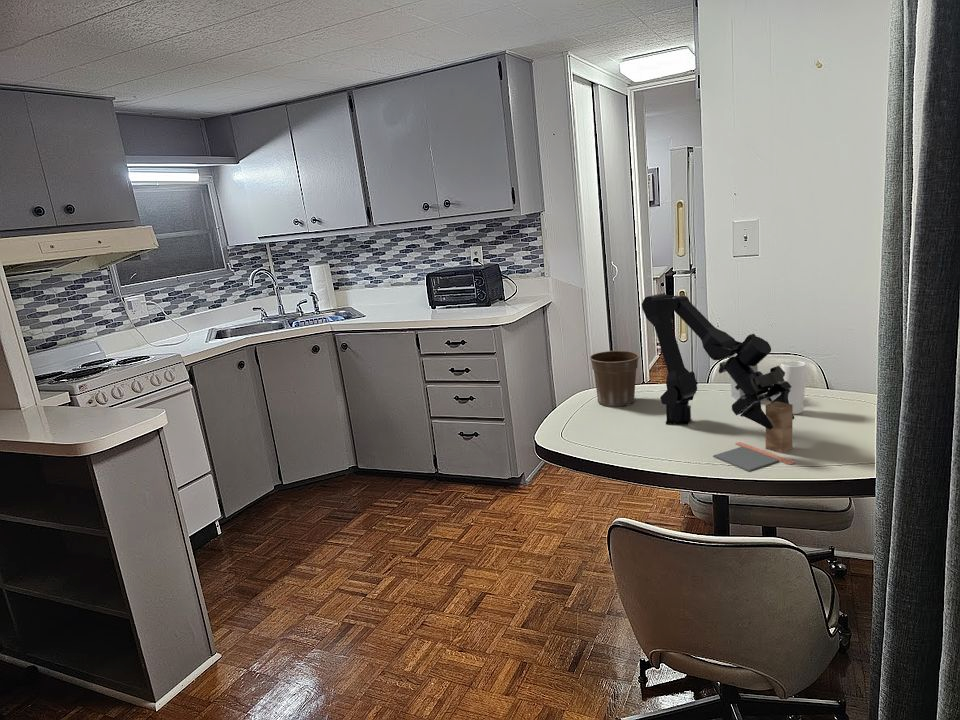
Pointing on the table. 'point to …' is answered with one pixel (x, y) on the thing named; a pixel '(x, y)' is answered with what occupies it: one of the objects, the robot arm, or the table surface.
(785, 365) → the drinking glass
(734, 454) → the mat
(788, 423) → the walnut block
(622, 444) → the table surface
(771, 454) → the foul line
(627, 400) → the plant pot
